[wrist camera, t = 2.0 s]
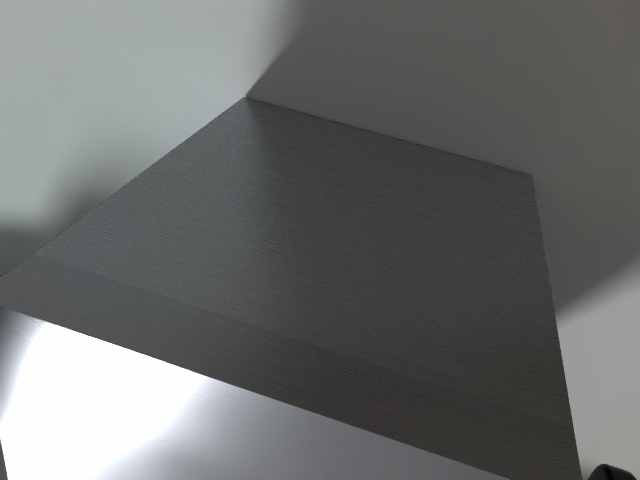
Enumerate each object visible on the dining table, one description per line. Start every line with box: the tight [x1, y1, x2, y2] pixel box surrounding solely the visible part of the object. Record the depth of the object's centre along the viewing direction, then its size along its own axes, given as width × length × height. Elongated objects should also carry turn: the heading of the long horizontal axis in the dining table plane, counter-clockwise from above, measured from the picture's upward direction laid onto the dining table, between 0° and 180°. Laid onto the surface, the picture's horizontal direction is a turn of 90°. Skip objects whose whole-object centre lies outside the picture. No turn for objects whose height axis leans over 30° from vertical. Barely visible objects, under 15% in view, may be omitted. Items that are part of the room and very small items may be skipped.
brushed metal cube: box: [0, 97, 582, 480], centre depth 9 cm, size 6×6×7 cm
